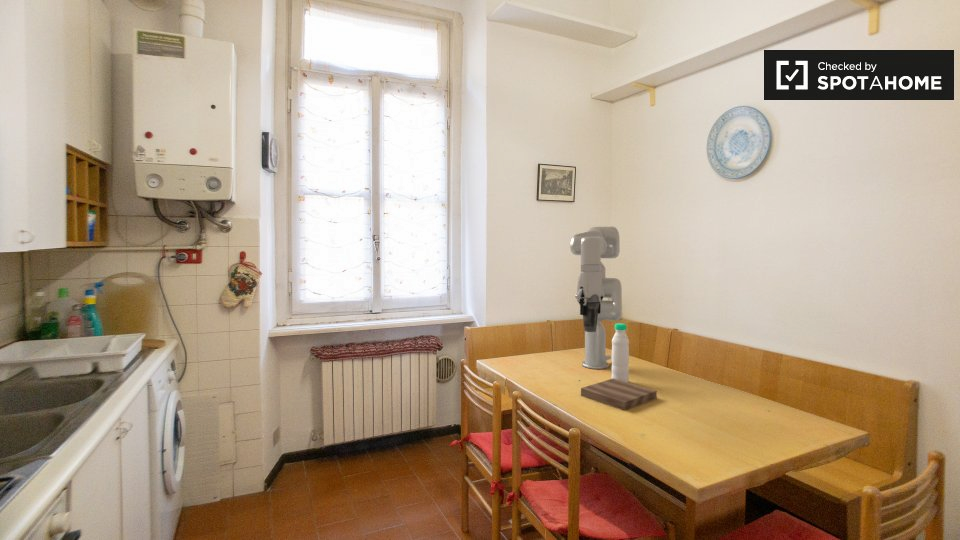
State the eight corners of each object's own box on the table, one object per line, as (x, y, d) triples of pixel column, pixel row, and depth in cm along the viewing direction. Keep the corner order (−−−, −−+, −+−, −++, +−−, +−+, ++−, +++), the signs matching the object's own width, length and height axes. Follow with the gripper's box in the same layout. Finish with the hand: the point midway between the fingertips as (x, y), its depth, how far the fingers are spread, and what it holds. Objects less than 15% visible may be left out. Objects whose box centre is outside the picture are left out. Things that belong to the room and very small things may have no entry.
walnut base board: (613, 385, 192) (613, 378, 192) (656, 398, 176) (656, 390, 176) (581, 395, 180) (581, 388, 180) (624, 410, 164) (624, 402, 164)
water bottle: (610, 383, 195) (611, 324, 193) (612, 378, 201) (612, 322, 200) (628, 385, 192) (628, 326, 190) (629, 380, 199) (630, 323, 197)
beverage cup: (598, 329, 185) (598, 279, 184) (600, 332, 178) (601, 281, 176) (579, 328, 186) (580, 279, 185) (581, 332, 179) (581, 281, 177)
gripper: (598, 267, 188) (597, 310, 189) (567, 269, 178) (567, 315, 180) (612, 268, 182) (612, 313, 183) (582, 270, 172) (582, 317, 173)
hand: (590, 313), depth 181 cm, fingers closed on beverage cup, 6 cm apart
